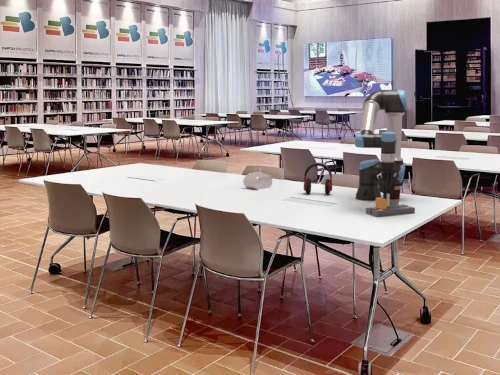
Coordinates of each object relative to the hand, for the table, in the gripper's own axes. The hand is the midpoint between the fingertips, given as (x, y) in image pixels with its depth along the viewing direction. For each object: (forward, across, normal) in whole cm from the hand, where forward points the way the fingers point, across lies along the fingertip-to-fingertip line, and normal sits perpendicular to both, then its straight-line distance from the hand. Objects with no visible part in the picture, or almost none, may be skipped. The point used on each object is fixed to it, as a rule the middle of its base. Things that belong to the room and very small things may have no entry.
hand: (386, 205), depth 322 cm
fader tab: (+3, -4, 0) cm, 5 cm away
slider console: (+4, +2, 0) cm, 5 cm away
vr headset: (+5, -30, +104) cm, 108 cm away
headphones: (+5, -5, +66) cm, 66 cm away
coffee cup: (+5, +16, +17) cm, 24 cm away
